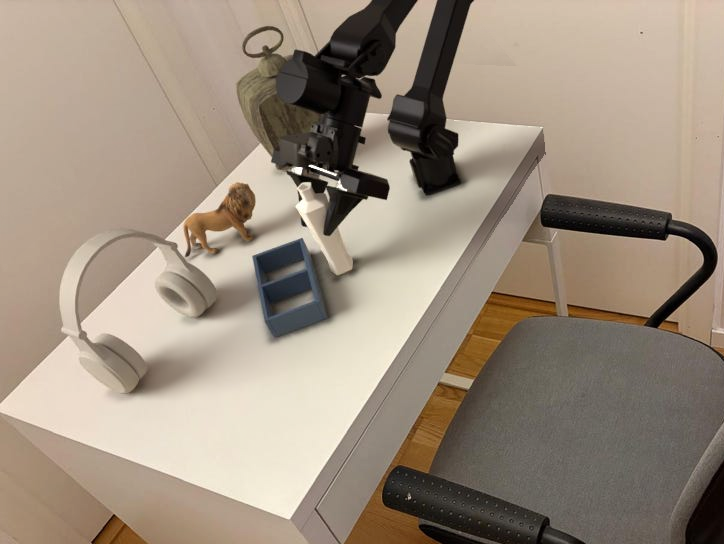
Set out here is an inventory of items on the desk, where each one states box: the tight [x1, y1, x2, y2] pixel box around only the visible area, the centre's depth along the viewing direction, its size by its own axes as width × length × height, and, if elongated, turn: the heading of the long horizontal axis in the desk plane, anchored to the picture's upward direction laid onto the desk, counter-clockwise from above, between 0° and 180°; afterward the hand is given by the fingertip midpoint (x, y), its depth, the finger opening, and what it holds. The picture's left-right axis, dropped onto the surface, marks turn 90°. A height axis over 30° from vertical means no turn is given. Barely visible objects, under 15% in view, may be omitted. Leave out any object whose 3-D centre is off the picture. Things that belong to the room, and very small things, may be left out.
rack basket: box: [251, 237, 329, 339], centre depth 111 cm, size 8×16×4 cm, turn 18°
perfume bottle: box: [295, 182, 354, 276], centre depth 108 cm, size 5×4×15 cm
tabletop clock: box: [235, 25, 328, 171], centre depth 126 cm, size 14×9×25 cm, turn 120°
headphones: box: [58, 227, 218, 394], centre depth 103 cm, size 20×8×19 cm, turn 152°
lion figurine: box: [183, 181, 257, 258], centre depth 121 cm, size 15×5×9 cm, turn 116°
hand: (315, 231), depth 107 cm, fingers closed on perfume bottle, 4 cm apart
